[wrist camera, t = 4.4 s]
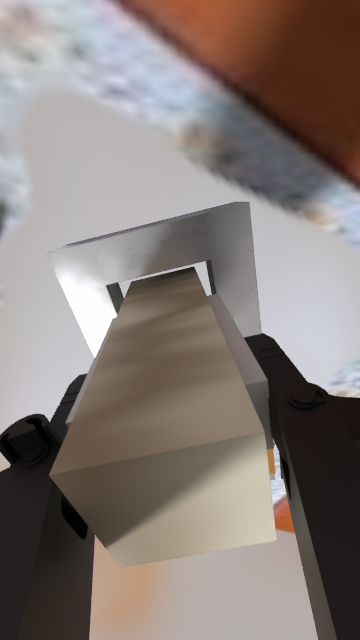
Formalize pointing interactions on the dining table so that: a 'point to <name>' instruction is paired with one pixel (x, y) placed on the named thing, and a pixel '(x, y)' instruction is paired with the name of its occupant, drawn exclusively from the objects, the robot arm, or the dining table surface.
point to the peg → (167, 434)
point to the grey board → (163, 267)
